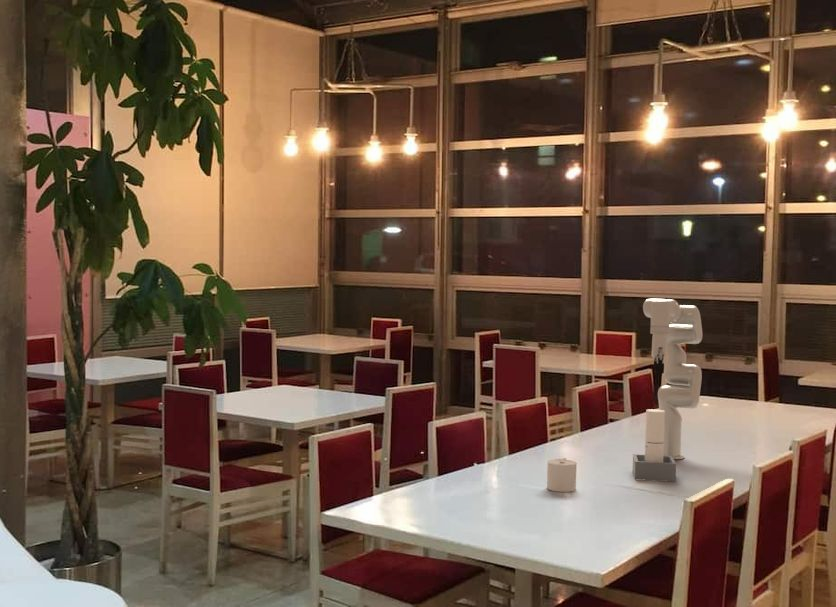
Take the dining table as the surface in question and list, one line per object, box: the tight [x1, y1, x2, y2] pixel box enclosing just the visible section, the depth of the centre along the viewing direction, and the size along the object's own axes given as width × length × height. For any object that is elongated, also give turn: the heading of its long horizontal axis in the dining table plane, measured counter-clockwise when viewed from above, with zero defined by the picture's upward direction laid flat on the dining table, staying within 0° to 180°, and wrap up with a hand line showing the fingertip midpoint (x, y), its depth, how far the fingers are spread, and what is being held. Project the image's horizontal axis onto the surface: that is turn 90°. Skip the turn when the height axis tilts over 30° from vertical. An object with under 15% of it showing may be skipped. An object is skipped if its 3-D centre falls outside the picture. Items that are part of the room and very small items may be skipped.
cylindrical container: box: [644, 408, 665, 463], centre depth 377 cm, size 7×7×25 cm
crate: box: [632, 453, 677, 482], centre depth 377 cm, size 15×15×7 cm
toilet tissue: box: [546, 457, 578, 493], centre depth 353 cm, size 11×12×10 cm
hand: (658, 371), depth 389 cm, fingers open, 9 cm apart
